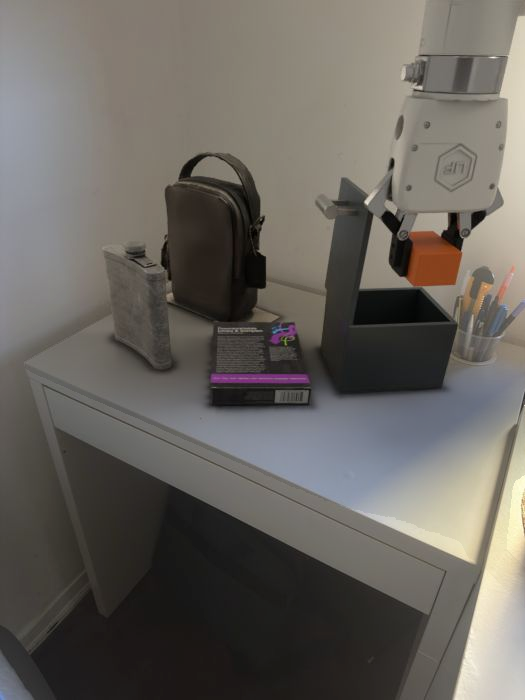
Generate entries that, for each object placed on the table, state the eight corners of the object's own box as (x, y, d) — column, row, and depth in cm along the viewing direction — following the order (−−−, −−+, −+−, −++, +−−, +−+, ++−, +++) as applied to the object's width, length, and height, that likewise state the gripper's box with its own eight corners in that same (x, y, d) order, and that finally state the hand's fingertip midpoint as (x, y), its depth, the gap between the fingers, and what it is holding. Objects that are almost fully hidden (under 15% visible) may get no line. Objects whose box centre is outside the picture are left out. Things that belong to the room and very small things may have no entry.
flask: (131, 330, 87) (118, 228, 77) (179, 363, 78) (172, 253, 69) (112, 336, 84) (97, 233, 75) (159, 371, 76) (149, 259, 66)
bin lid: (346, 177, 69) (311, 175, 68) (376, 201, 58) (335, 199, 57) (329, 286, 77) (297, 286, 76) (352, 325, 66) (316, 324, 66)
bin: (409, 345, 85) (422, 286, 79) (442, 387, 74) (458, 323, 69) (320, 349, 83) (326, 289, 77) (340, 393, 72) (349, 328, 67)
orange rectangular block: (389, 262, 57) (394, 231, 55) (427, 260, 57) (433, 230, 55) (413, 287, 51) (419, 254, 49) (455, 285, 51) (462, 252, 49)
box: (309, 408, 70) (294, 336, 86) (312, 387, 68) (296, 319, 84) (209, 407, 69) (213, 335, 85) (209, 387, 67) (213, 317, 83)
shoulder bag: (279, 316, 93) (287, 157, 78) (249, 335, 86) (252, 166, 72) (191, 285, 104) (184, 141, 89) (158, 299, 98) (145, 146, 83)
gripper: (380, 81, 40) (355, 288, 50) (572, 82, 42) (513, 282, 52) (353, 77, 47) (336, 261, 56) (521, 78, 49) (477, 256, 58)
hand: (421, 269), depth 54 cm, fingers closed on orange rectangular block, 4 cm apart
